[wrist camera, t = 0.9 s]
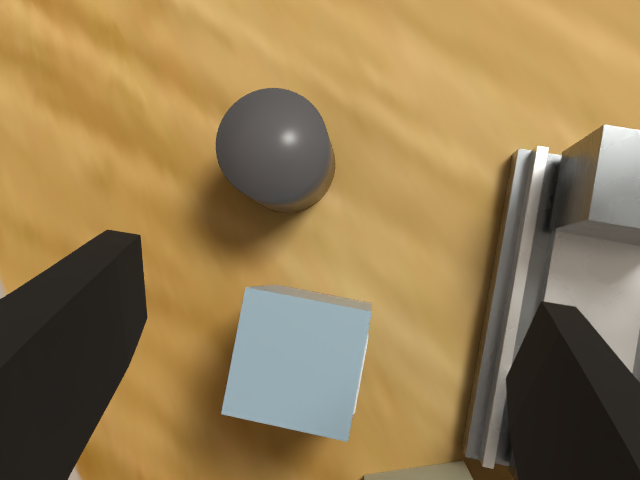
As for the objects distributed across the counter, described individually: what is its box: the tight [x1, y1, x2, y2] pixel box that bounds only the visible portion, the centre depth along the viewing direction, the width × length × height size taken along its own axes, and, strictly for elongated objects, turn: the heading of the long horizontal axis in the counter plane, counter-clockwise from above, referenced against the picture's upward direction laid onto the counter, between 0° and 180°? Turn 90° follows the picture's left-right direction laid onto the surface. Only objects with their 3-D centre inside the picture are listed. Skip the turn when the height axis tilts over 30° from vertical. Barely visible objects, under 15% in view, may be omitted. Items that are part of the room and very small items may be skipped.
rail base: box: [461, 125, 640, 480], centre depth 20 cm, size 12×7×6 cm, turn 169°
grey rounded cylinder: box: [216, 88, 335, 213], centre depth 23 cm, size 4×4×4 cm
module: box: [221, 285, 372, 442], centre depth 21 cm, size 4×4×6 cm
